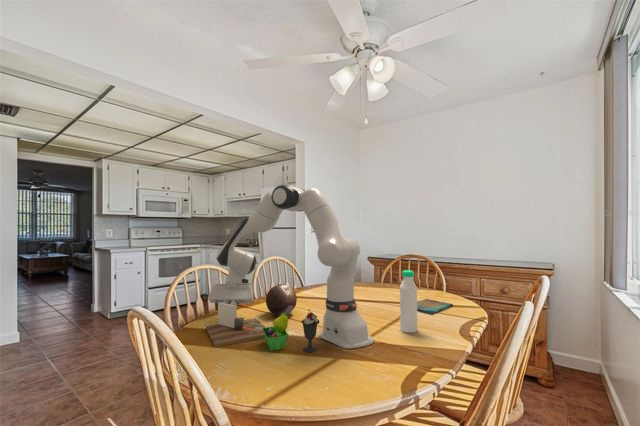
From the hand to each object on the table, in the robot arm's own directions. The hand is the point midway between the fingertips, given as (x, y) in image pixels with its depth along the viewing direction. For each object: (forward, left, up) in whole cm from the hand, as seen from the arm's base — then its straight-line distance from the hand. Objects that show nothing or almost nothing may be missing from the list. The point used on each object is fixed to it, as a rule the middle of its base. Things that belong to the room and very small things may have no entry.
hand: (227, 310), depth 137 cm
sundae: (-42, -20, -6) cm, 47 cm away
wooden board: (-12, -2, -6) cm, 14 cm away
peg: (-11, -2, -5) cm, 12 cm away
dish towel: (-24, -100, -7) cm, 103 cm away
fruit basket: (-32, -11, -6) cm, 34 cm away
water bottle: (-45, -65, -6) cm, 79 cm away
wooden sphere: (+1, -26, -6) cm, 27 cm away
